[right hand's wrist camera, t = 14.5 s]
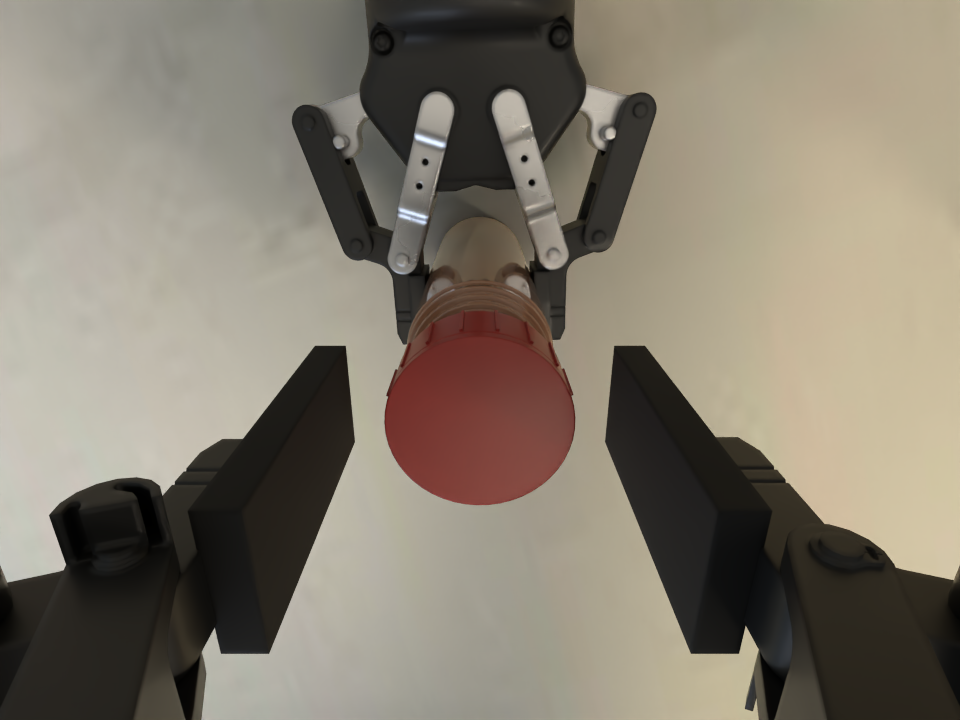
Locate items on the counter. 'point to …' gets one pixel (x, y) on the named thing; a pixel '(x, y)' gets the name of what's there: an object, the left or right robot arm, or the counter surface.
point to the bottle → (479, 278)
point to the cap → (479, 409)
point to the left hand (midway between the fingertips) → (481, 347)
